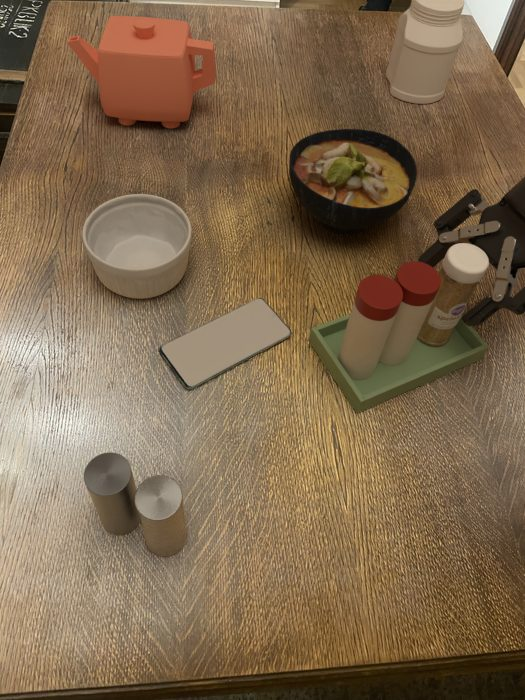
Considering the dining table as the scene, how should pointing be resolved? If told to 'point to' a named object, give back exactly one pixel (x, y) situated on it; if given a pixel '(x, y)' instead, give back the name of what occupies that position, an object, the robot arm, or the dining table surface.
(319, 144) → the bowl
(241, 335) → the smartphone
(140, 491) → the grey tin
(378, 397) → the tray
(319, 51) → the dining table surface
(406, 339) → the spice bottle
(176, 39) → the teapot
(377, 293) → the spice bottle
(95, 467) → the grey tin
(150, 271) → the ramekin
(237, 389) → the dining table surface
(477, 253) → the sprinkles bottle
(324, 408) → the dining table surface
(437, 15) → the jar
